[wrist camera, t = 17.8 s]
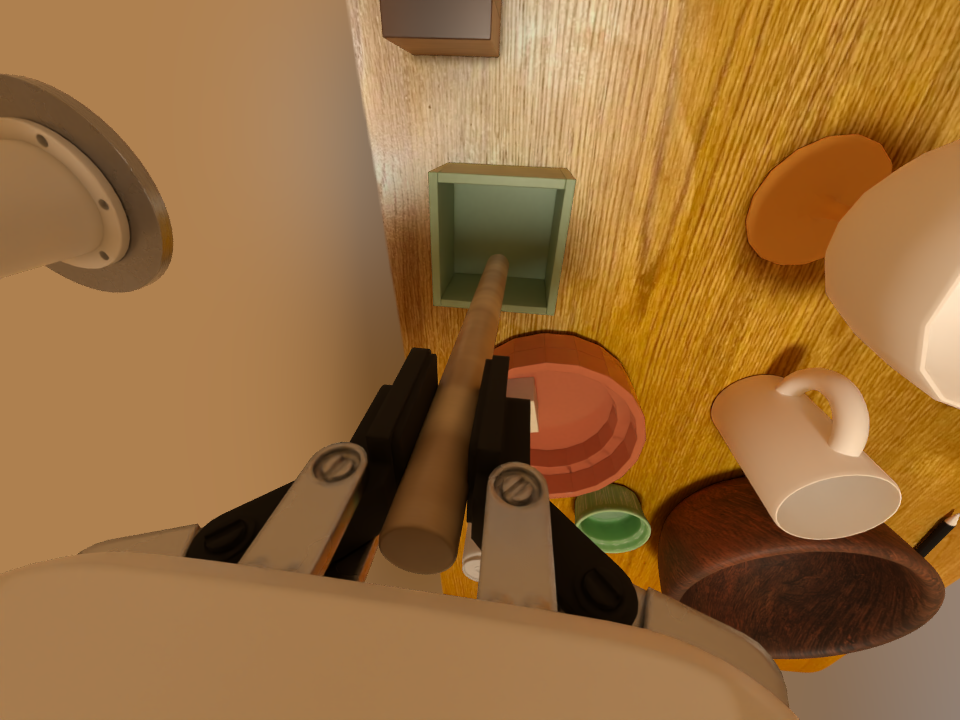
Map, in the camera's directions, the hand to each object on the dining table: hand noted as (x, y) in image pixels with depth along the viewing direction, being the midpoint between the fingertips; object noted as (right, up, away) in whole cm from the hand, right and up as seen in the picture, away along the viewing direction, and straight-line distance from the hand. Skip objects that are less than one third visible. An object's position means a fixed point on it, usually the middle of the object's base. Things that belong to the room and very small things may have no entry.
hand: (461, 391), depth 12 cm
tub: (+2, +12, +19) cm, 22 cm away
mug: (+29, -2, +24) cm, 38 cm away
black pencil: (+56, -24, +35) cm, 70 cm away
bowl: (+8, -3, +28) cm, 29 cm away
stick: (+2, +8, +14) cm, 17 cm away
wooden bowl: (+35, -20, +35) cm, 54 cm away
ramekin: (+17, -18, +36) cm, 44 cm away
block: (+5, -3, +27) cm, 27 cm away
